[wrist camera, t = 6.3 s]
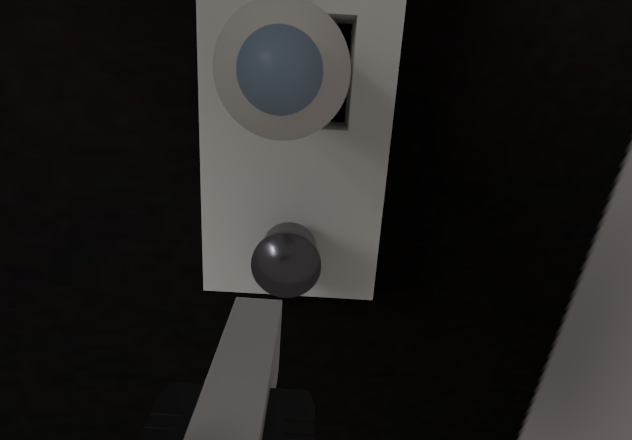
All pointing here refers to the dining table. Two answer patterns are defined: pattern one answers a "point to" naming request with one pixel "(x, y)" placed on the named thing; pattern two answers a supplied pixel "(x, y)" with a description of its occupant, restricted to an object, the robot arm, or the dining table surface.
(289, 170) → the housing
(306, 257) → the plunger
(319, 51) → the cartridge
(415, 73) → the dining table surface
